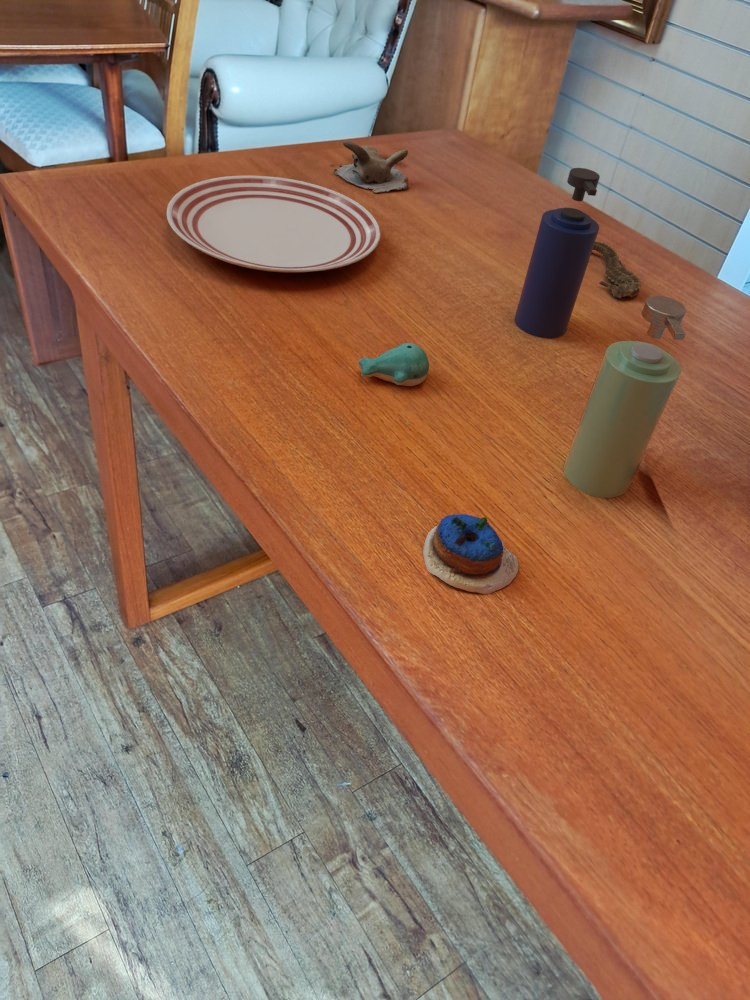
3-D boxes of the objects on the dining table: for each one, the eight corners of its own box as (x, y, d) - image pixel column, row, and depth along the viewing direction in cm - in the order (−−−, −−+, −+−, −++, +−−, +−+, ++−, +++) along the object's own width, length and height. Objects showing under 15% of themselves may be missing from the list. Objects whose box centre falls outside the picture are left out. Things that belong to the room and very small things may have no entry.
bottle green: (619, 456, 78) (671, 333, 69) (637, 500, 74) (696, 375, 64) (556, 452, 78) (601, 327, 68) (571, 496, 73) (621, 368, 64)
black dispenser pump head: (588, 195, 87) (595, 169, 85) (600, 216, 83) (609, 189, 81) (560, 191, 87) (567, 166, 85) (571, 213, 83) (579, 186, 81)
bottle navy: (560, 313, 99) (594, 203, 89) (571, 340, 94) (608, 227, 85) (510, 308, 98) (539, 197, 89) (519, 336, 94) (551, 221, 84)
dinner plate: (392, 219, 114) (396, 196, 111) (356, 309, 94) (359, 283, 91) (208, 183, 115) (208, 160, 113) (133, 265, 95) (131, 238, 93)
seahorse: (601, 248, 114) (604, 236, 113) (648, 301, 104) (652, 288, 103) (566, 251, 113) (568, 239, 112) (609, 304, 103) (613, 291, 102)
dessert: (402, 558, 64) (438, 494, 62) (426, 552, 70) (460, 494, 69) (486, 613, 61) (526, 548, 60) (503, 602, 67) (539, 543, 66)
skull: (415, 195, 123) (424, 155, 120) (352, 191, 117) (360, 150, 114) (382, 173, 130) (390, 135, 126) (321, 169, 124) (327, 129, 120)
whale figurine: (430, 393, 82) (437, 363, 80) (361, 392, 81) (365, 361, 79) (420, 362, 87) (426, 332, 84) (354, 361, 85) (358, 330, 83)
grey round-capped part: (666, 327, 67) (678, 297, 65) (688, 363, 63) (702, 332, 61) (630, 323, 66) (641, 293, 64) (649, 360, 62) (662, 329, 60)
